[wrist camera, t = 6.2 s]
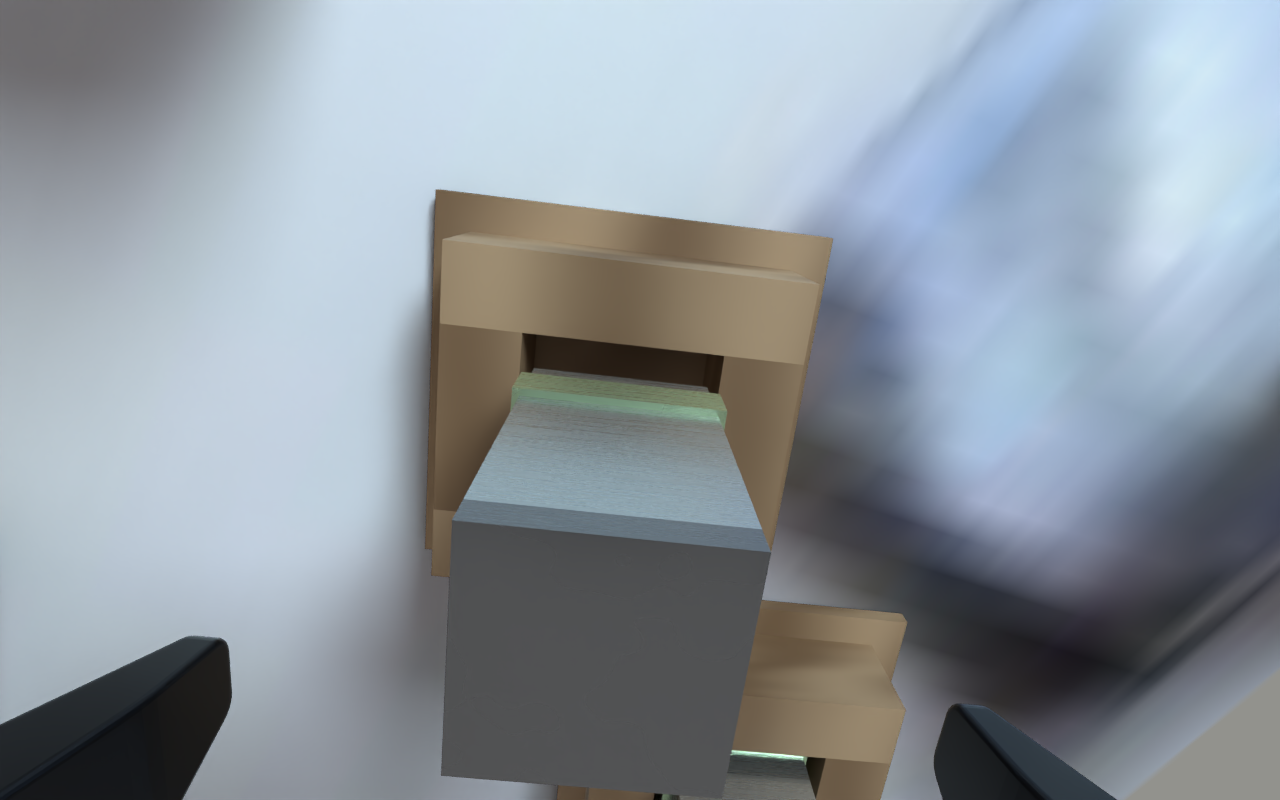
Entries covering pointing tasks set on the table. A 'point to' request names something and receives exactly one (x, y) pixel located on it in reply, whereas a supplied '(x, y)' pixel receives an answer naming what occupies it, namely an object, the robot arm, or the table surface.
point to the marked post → (602, 591)
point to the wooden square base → (816, 698)
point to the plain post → (761, 778)
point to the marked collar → (613, 327)
